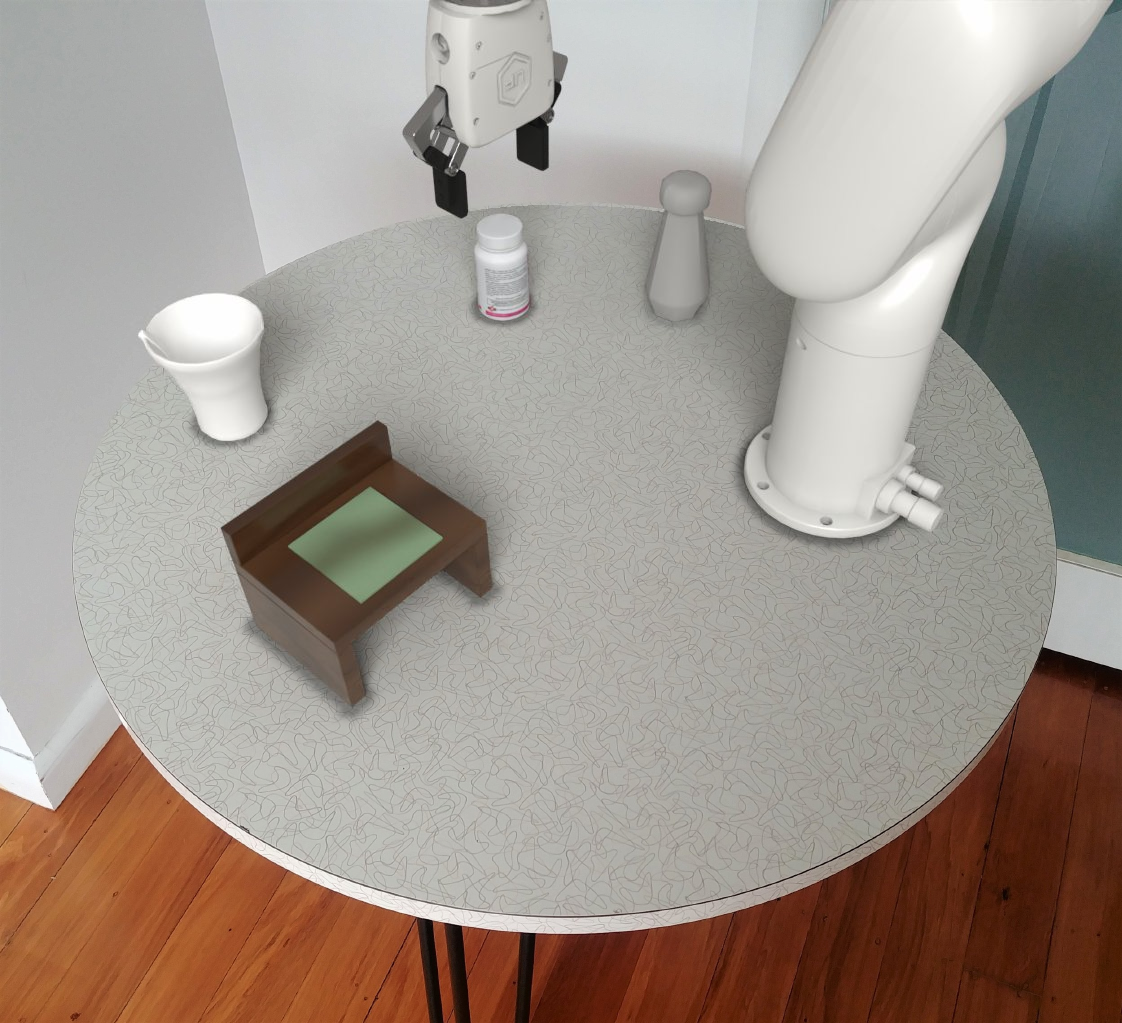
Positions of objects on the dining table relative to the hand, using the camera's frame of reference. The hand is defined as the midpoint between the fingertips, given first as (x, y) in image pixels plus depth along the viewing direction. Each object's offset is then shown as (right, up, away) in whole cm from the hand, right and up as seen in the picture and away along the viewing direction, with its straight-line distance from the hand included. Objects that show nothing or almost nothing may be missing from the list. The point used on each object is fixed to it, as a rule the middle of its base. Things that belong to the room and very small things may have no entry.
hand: (493, 187), depth 88 cm
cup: (-21, -20, -2) cm, 29 cm away
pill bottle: (0, -8, +9) cm, 12 cm away
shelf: (-7, -34, -15) cm, 38 cm away
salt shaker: (+16, -9, +8) cm, 20 cm away
